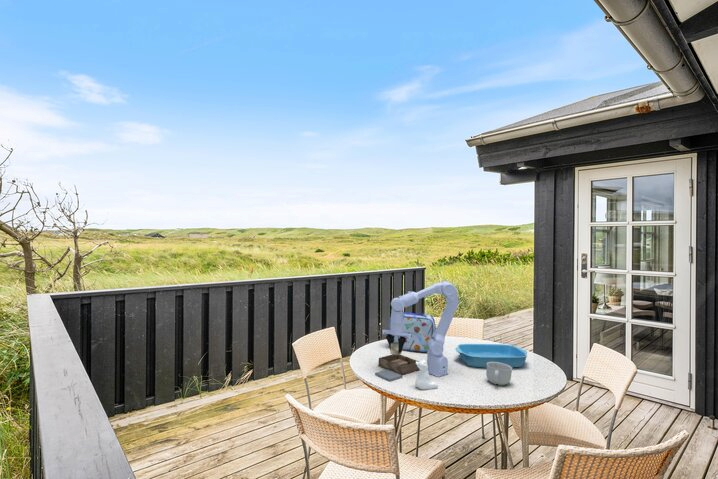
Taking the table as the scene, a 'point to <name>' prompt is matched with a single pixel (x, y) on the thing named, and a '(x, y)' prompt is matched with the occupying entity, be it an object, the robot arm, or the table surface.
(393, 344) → the metal block
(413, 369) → the walnut crate
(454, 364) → the table surface
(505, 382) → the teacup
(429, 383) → the white creature statuette
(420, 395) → the table surface
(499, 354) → the casserole dish
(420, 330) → the lunch box
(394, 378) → the slate mat
